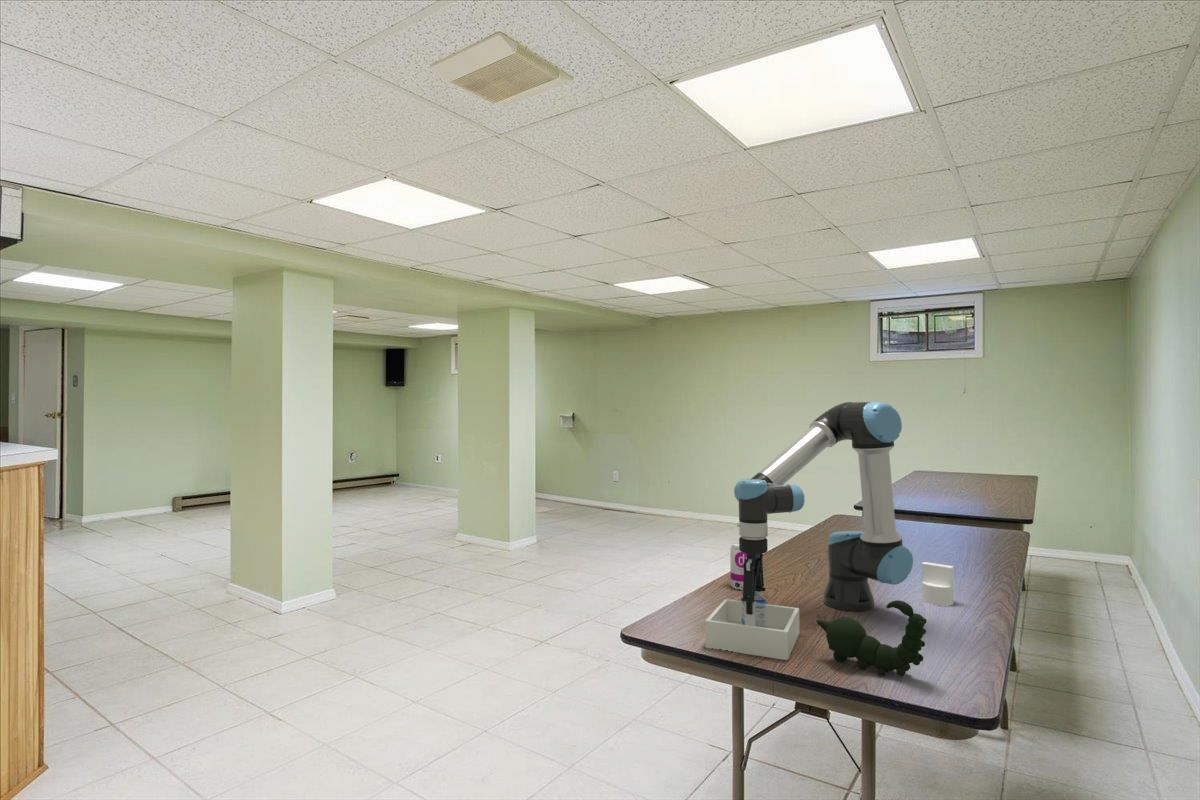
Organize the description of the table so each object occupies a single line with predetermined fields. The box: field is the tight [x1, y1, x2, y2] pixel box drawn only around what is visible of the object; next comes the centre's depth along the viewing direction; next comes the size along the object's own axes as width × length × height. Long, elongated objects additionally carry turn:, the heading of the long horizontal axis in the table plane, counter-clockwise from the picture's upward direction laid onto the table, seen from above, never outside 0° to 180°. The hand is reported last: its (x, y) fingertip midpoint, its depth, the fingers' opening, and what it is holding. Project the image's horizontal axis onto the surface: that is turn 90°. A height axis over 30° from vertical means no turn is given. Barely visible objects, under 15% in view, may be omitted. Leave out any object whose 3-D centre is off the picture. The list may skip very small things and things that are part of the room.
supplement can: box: [729, 542, 747, 591], centre depth 226 cm, size 8×8×15 cm
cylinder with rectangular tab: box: [921, 561, 955, 607], centre depth 208 cm, size 9×9×12 cm
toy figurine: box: [815, 599, 928, 677], centre depth 156 cm, size 9×19×25 cm
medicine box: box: [741, 591, 767, 628], centre depth 175 cm, size 8×4×9 cm, turn 5°
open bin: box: [704, 598, 800, 661], centre depth 175 cm, size 21×21×7 cm
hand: (753, 620), depth 175 cm, fingers closed on medicine box, 9 cm apart
